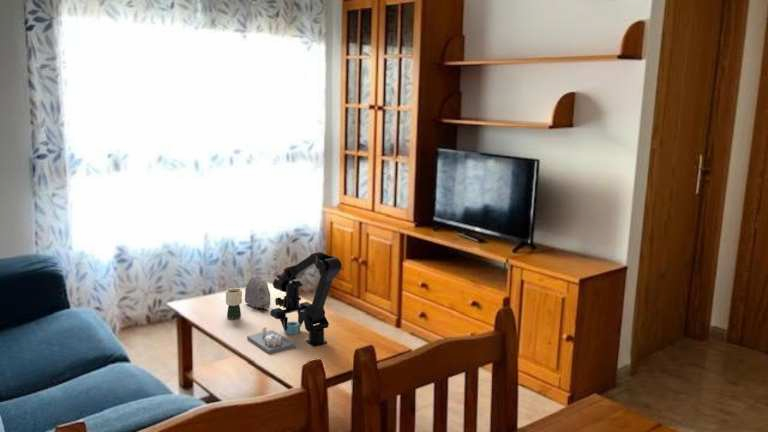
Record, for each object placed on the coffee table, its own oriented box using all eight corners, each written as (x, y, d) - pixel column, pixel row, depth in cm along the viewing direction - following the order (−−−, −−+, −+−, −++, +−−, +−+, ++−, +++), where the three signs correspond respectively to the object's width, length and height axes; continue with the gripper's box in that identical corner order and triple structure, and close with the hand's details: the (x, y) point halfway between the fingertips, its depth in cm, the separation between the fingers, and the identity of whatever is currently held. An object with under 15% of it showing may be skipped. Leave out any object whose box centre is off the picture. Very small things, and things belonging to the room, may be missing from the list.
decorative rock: (243, 303, 315) (243, 273, 312) (255, 300, 319) (255, 271, 316) (260, 313, 303) (260, 282, 300) (272, 310, 307) (272, 280, 304)
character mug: (246, 319, 293) (246, 292, 291) (231, 322, 289) (231, 294, 287) (236, 312, 302) (236, 285, 299) (222, 315, 298) (221, 288, 295)
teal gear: (303, 332, 282) (303, 324, 281) (289, 335, 277) (289, 328, 277) (294, 327, 287) (294, 320, 286) (281, 330, 283) (281, 323, 282)
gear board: (294, 347, 266) (294, 333, 265) (268, 353, 258) (268, 339, 257) (272, 333, 279) (272, 320, 278) (247, 339, 272) (247, 325, 271)
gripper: (301, 286, 291) (300, 319, 294) (264, 293, 279) (263, 327, 282) (314, 292, 282) (314, 326, 285) (277, 300, 271) (277, 335, 274)
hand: (292, 328), depth 282 cm, fingers closed on teal gear, 7 cm apart
